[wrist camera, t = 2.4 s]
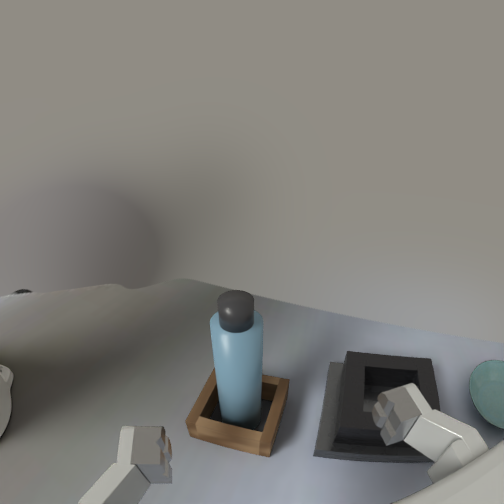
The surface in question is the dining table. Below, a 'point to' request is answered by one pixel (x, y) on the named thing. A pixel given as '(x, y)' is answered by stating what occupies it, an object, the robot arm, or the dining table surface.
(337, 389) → the port
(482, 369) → the saucer
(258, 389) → the blue bottle
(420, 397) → the robot arm
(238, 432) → the wooden square frame
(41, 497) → the dining table surface
